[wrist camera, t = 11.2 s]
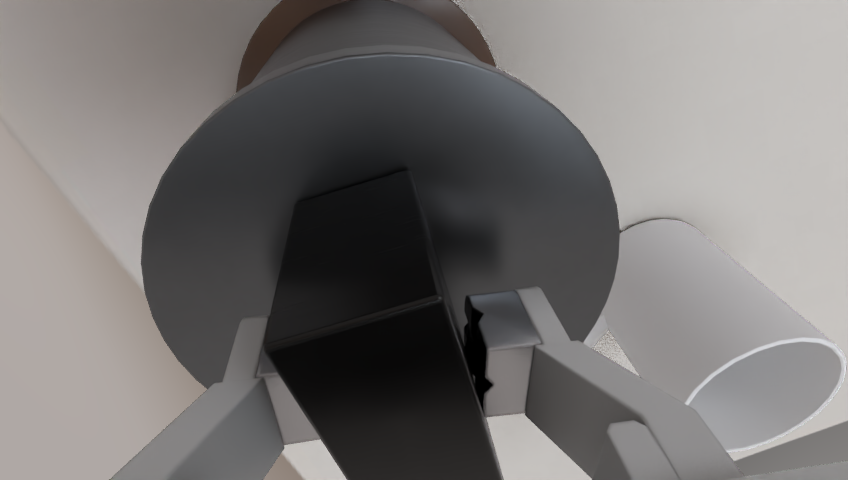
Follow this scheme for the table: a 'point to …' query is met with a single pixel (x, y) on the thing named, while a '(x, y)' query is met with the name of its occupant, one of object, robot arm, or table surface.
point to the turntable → (304, 3)
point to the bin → (377, 232)
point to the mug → (716, 336)
